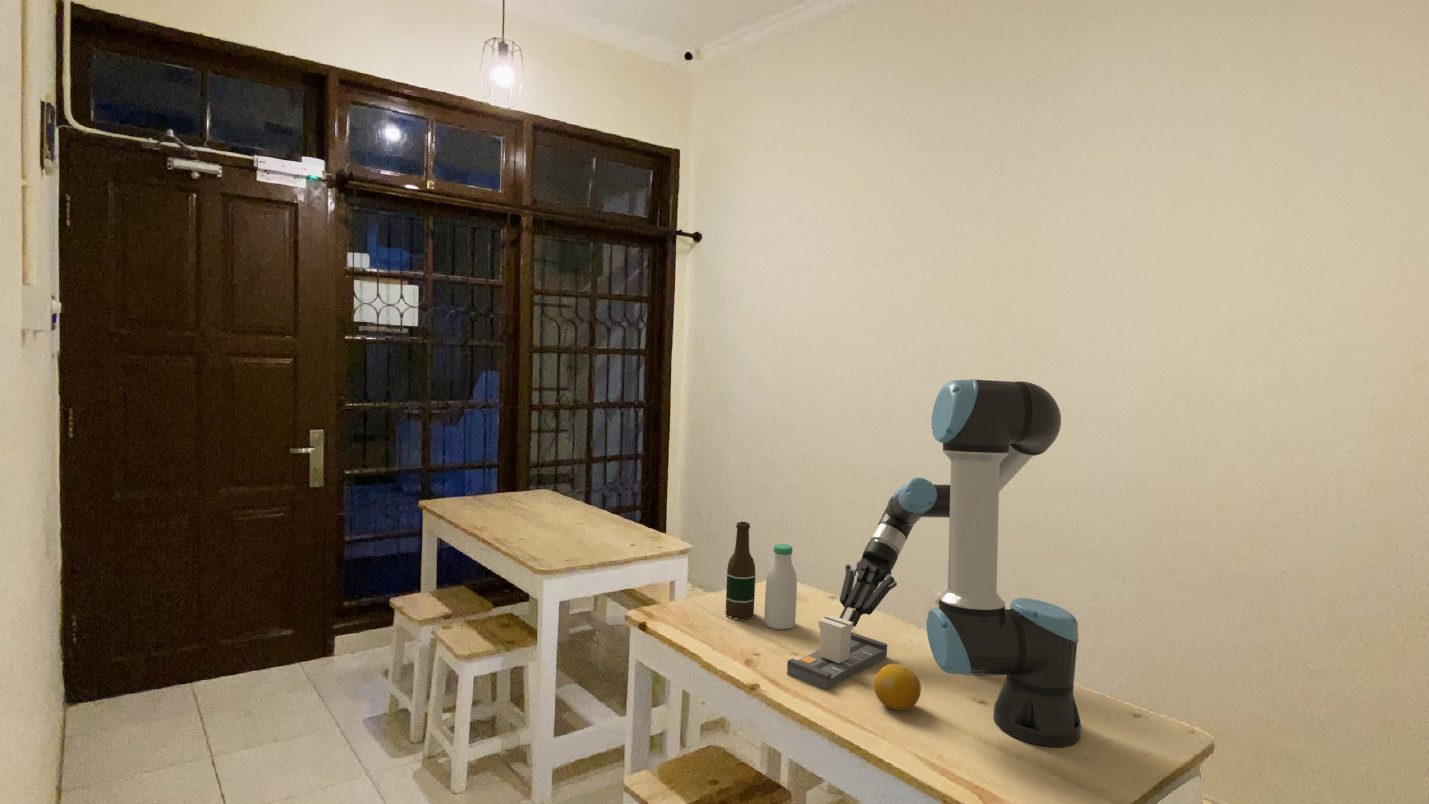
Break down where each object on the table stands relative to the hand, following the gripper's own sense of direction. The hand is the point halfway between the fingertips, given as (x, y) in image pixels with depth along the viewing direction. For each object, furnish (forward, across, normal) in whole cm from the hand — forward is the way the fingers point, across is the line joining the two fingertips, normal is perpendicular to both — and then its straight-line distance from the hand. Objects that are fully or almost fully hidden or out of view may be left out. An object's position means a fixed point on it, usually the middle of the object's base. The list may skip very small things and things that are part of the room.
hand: (840, 636), depth 168 cm
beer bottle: (+1, +34, -8) cm, 35 cm away
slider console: (+5, -1, -3) cm, 6 cm away
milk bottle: (-1, +23, -10) cm, 25 cm away
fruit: (+11, -19, +2) cm, 22 cm away
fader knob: (+5, -1, 0) cm, 5 cm away
